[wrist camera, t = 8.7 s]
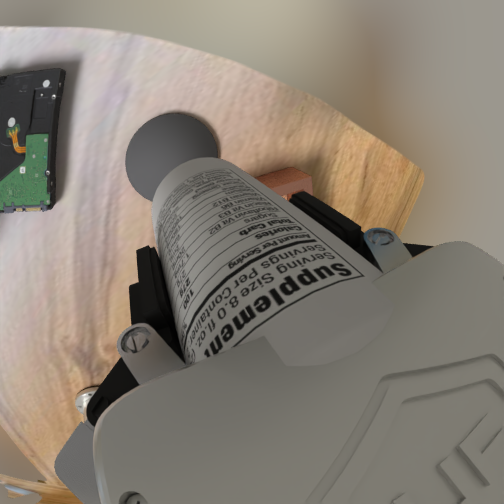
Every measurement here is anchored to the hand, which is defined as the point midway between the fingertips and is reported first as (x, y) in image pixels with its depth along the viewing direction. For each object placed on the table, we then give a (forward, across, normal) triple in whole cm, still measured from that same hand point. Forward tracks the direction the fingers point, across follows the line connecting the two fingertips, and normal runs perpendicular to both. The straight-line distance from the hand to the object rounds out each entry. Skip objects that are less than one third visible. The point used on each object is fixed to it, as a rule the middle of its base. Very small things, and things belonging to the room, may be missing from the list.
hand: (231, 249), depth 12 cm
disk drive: (+21, +16, -9) cm, 28 cm away
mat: (+20, 0, 0) cm, 20 cm away
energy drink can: (+6, 0, 0) cm, 6 cm away
